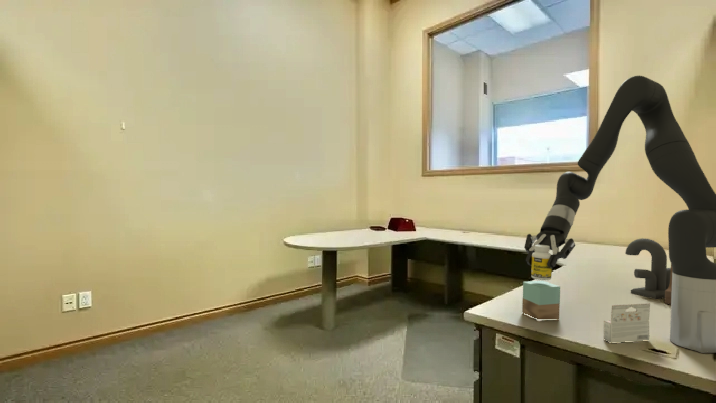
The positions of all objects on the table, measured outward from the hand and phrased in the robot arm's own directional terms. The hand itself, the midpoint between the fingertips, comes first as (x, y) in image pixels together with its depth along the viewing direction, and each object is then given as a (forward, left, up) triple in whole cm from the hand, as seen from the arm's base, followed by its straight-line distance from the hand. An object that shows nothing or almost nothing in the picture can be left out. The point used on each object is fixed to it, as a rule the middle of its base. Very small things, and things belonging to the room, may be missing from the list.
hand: (538, 265), depth 108 cm
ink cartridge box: (-17, -13, -16) cm, 27 cm away
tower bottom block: (+1, -1, -16) cm, 16 cm away
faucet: (+28, -58, -16) cm, 67 cm away
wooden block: (+13, -56, -16) cm, 60 cm away
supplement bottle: (+1, -1, -4) cm, 5 cm away
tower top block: (+1, -1, -11) cm, 11 cm away
